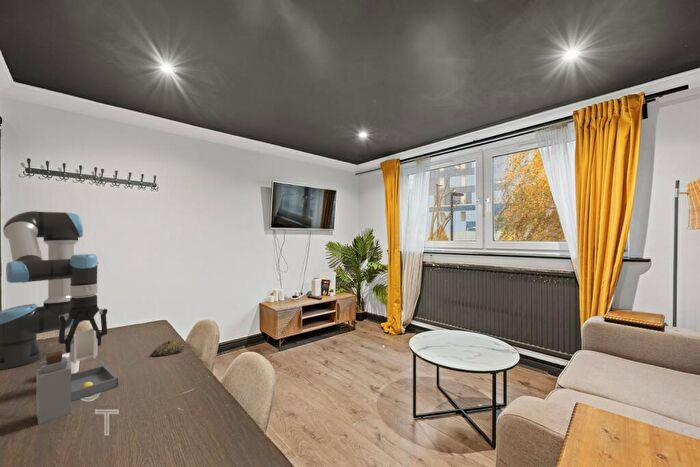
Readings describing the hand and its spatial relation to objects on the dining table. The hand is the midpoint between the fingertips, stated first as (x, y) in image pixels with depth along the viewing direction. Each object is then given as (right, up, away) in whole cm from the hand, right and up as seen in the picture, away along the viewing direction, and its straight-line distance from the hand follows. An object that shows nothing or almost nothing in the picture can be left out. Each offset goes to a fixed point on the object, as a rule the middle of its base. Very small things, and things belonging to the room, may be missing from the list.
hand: (83, 357), depth 110 cm
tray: (+5, -8, -6) cm, 11 cm away
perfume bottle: (+11, -8, -22) cm, 26 cm away
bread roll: (+15, -9, +28) cm, 33 cm away
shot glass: (-11, -8, +6) cm, 15 cm away
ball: (+10, -6, -10) cm, 15 cm away
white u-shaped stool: (0, 0, 0) cm, 0 cm away
